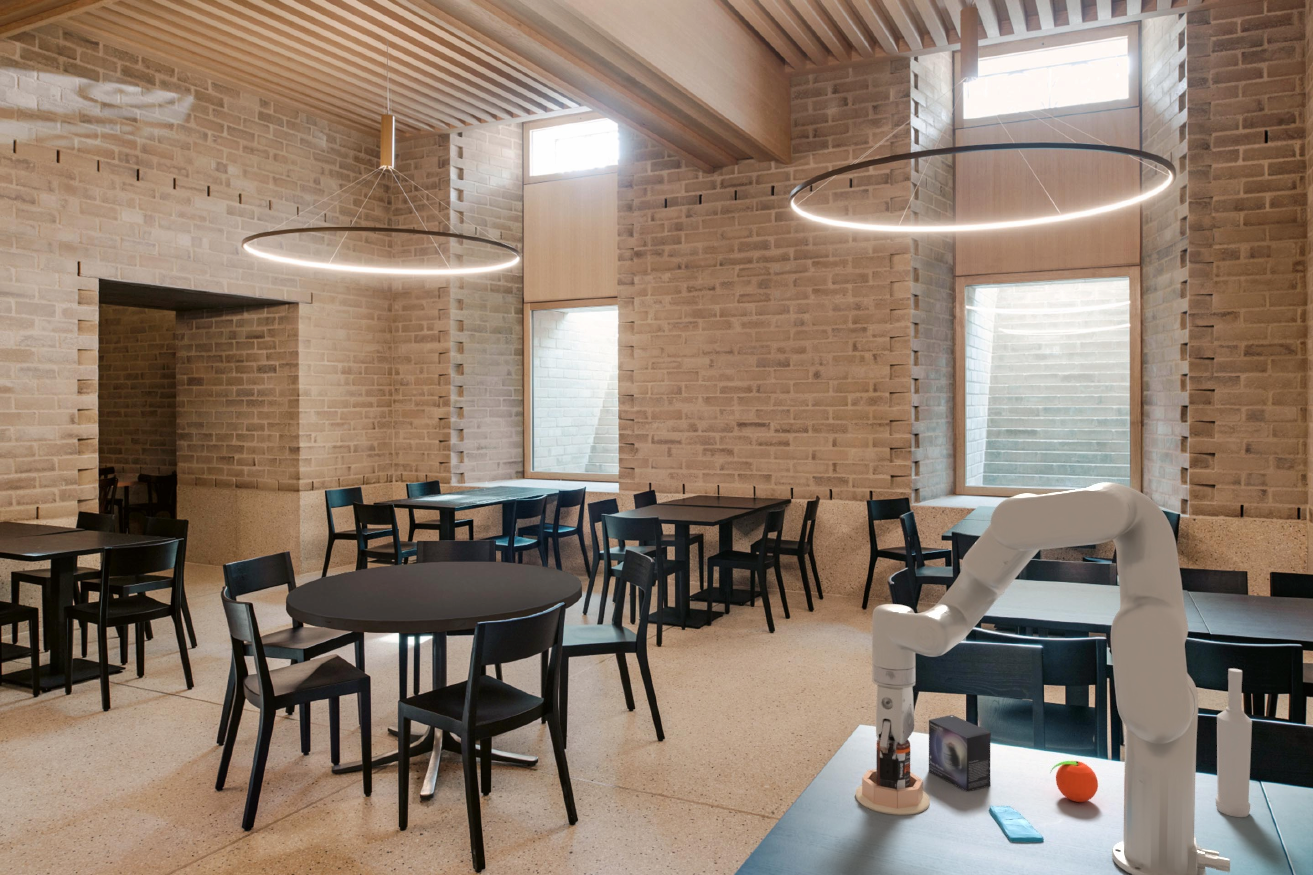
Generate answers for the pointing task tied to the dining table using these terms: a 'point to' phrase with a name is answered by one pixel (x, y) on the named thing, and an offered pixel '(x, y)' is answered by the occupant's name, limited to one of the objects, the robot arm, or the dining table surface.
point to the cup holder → (892, 796)
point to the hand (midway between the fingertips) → (893, 771)
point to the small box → (959, 752)
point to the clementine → (1076, 781)
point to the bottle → (1233, 752)
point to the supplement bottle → (904, 766)
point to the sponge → (1014, 825)
